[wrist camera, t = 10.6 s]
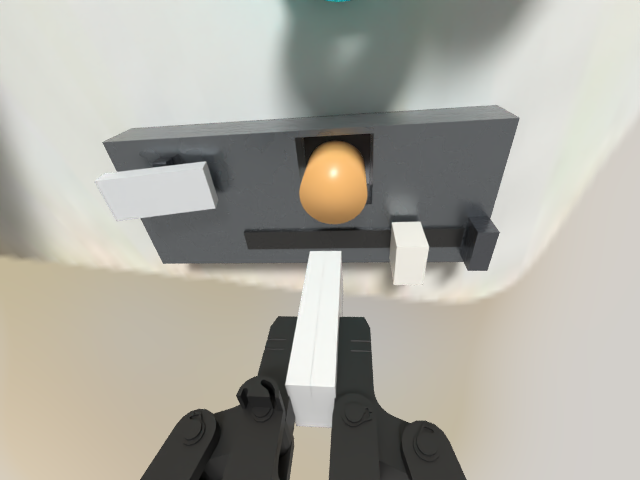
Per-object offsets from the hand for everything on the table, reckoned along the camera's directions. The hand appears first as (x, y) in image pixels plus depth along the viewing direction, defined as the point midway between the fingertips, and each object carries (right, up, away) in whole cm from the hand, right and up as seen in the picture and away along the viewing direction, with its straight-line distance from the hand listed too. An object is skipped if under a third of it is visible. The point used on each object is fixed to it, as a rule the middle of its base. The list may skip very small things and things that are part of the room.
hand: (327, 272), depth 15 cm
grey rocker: (-13, +6, +9) cm, 17 cm away
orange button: (+1, +8, +10) cm, 13 cm away
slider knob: (+7, +2, +12) cm, 14 cm away
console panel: (-1, +7, +15) cm, 16 cm away
